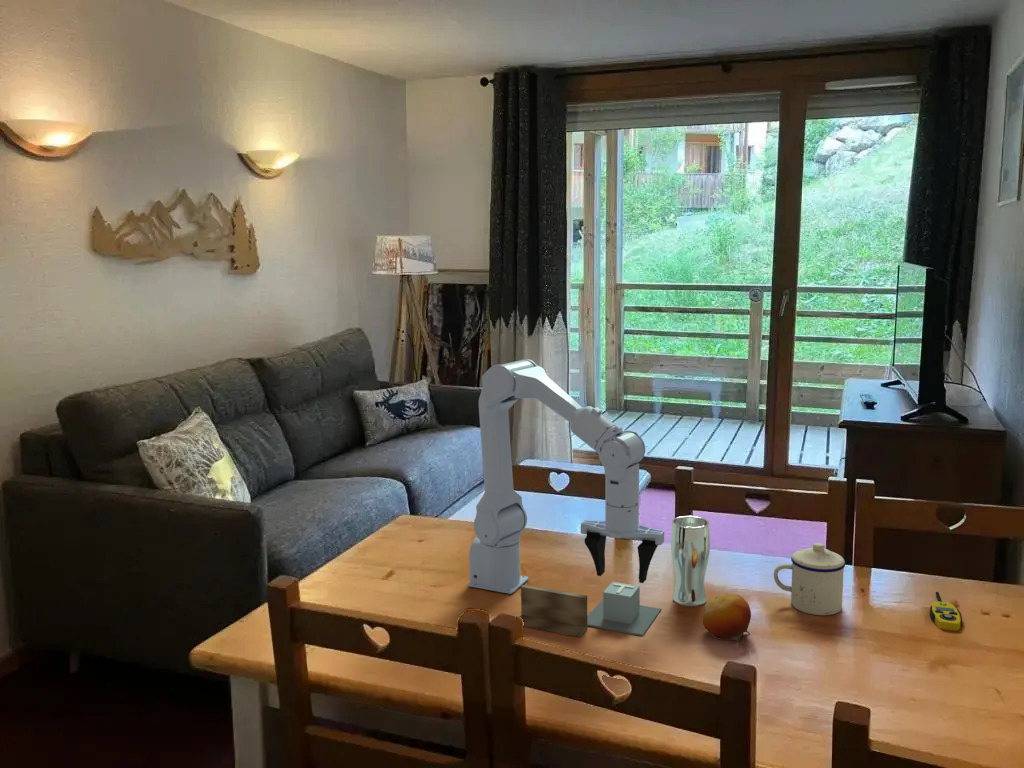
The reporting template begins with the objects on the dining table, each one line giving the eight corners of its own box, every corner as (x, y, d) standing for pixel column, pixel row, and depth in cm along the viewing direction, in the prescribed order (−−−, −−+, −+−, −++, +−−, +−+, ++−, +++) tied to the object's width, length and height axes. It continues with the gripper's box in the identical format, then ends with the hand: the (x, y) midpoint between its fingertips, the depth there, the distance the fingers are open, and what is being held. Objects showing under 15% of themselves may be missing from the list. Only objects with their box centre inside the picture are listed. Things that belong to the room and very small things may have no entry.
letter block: (603, 619, 150) (603, 591, 149) (612, 607, 155) (612, 580, 154) (630, 624, 148) (630, 595, 147) (639, 612, 153) (639, 584, 152)
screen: (515, 624, 150) (514, 592, 148) (523, 616, 153) (523, 584, 152) (580, 637, 144) (579, 603, 143) (587, 628, 147) (587, 595, 146)
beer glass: (709, 608, 154) (710, 528, 152) (669, 606, 156) (670, 527, 153) (708, 593, 161) (709, 516, 158) (670, 590, 162) (671, 514, 160)
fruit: (754, 643, 138) (729, 597, 139) (712, 657, 142) (689, 612, 143) (768, 623, 145) (744, 580, 146) (728, 637, 149) (705, 595, 150)
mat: (581, 624, 149) (581, 623, 149) (602, 600, 159) (602, 598, 159) (642, 636, 144) (642, 634, 144) (661, 610, 154) (661, 608, 154)
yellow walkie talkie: (934, 619, 145) (922, 584, 159) (933, 630, 145) (922, 594, 159) (966, 623, 143) (951, 588, 157) (965, 634, 144) (951, 597, 158)
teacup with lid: (842, 598, 157) (845, 537, 155) (844, 619, 149) (847, 555, 147) (773, 591, 161) (775, 531, 159) (771, 611, 153) (774, 549, 151)
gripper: (574, 504, 147) (574, 579, 150) (656, 514, 141) (655, 592, 144) (588, 492, 154) (588, 564, 156) (668, 502, 148) (666, 577, 150)
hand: (621, 577), depth 150 cm, fingers open, 7 cm apart
